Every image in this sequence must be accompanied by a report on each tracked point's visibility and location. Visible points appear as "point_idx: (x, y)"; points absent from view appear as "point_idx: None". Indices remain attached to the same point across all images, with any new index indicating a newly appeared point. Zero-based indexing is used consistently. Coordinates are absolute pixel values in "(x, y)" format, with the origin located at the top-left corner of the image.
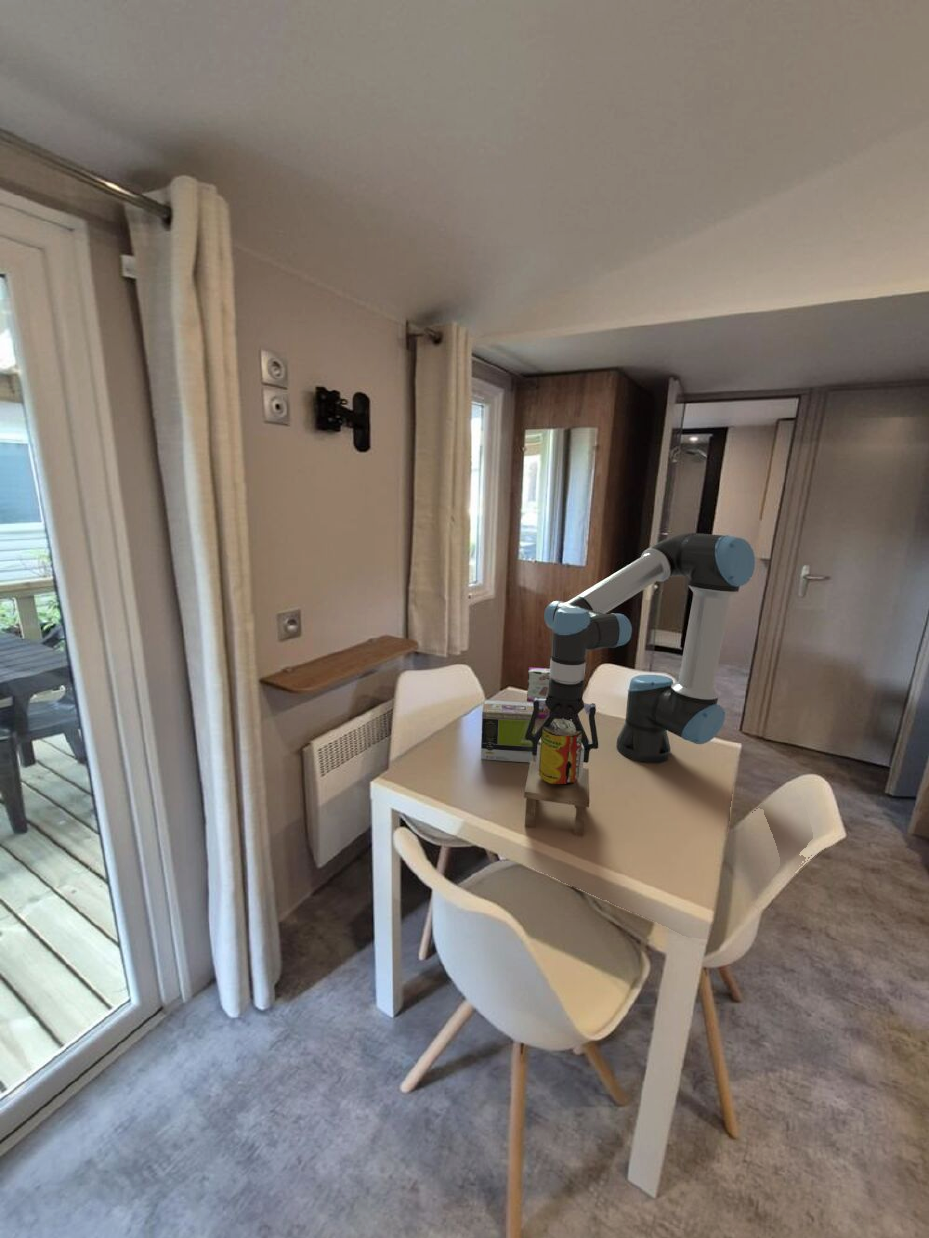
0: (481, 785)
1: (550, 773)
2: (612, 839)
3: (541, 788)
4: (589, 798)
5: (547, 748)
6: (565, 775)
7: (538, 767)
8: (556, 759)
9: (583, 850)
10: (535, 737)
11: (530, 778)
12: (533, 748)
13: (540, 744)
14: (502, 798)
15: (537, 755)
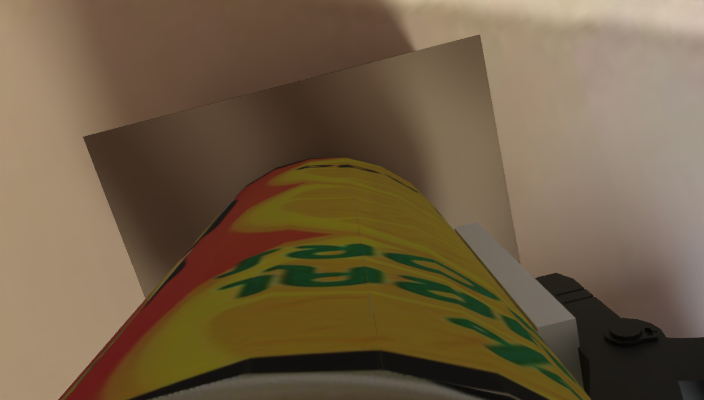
0: (678, 249)
1: (353, 171)
2: (73, 162)
3: (392, 126)
4: (94, 166)
5: (439, 253)
6: (240, 199)
7: (466, 234)
8: (306, 202)
9: (151, 30)
10: (663, 367)
11: (487, 201)
12: (587, 303)
13: (544, 340)
14: (566, 205)
15: (515, 267)
